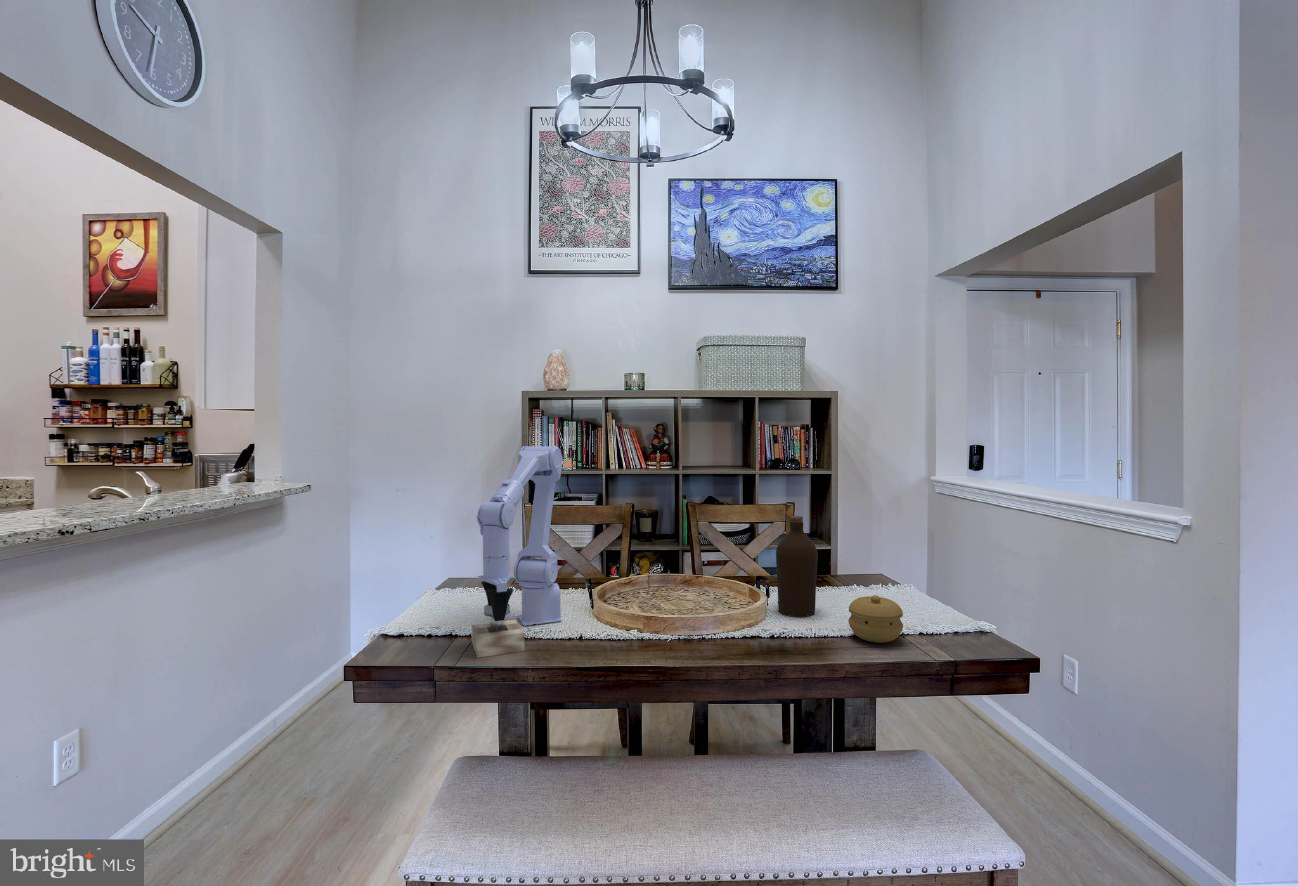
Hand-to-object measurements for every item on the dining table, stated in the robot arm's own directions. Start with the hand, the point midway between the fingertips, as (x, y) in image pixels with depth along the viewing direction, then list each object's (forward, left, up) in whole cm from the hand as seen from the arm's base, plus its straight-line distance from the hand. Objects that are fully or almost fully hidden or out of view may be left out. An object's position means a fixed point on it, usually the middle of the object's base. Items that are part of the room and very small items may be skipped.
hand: (497, 616), depth 137 cm
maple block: (0, 0, -7) cm, 7 cm away
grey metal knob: (0, 0, -3) cm, 3 cm away
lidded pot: (-80, +30, -7) cm, 86 cm away
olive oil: (-76, +6, -7) cm, 77 cm away
